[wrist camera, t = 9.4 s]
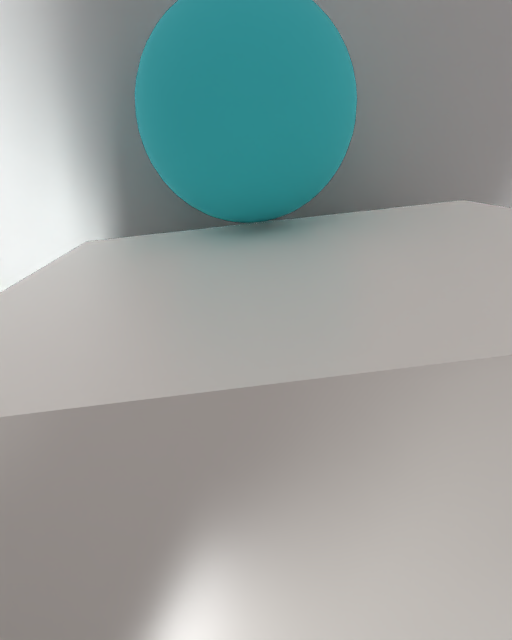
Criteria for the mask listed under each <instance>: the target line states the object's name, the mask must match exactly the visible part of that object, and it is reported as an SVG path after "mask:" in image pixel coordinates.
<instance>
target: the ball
mask: <svg viewBox="0 0 512 640" xmlns="http://www.w3.org/2000/svg"><path fill="white" fill-rule="evenodd" d="M356 107H357V90H356V81H355V76H354V71H353V66H352V62H351V59H350V56H349V53H348V50H347V47H346V45H345V43H344V41H343V39H342V37H341V35H340V33H339V32H338V30H337V28H336V27H335V25H334V24H333V23H332V21H331V20H330V18H329V17H328V16H327V15H326V14H325V13H324V11H323V10H322V9H321V8H320V7H319V6H318V5H317V4H316V3H315V2H314V1H312V0H178V1H177V2H176V3H174V4H173V5H172V6H171V7H170V8H169V9H168V10H167V11H166V12H165V14H164V15H163V16H162V18H161V19H160V20H159V22H158V23H157V24H156V26H155V28H154V29H153V31H152V33H151V35H150V37H149V39H148V40H147V42H146V45H145V48H144V50H143V53H142V56H141V59H140V63H139V68H138V72H137V77H136V85H135V109H136V119H137V124H138V129H139V133H140V136H141V139H142V142H143V145H144V148H145V151H146V153H147V155H148V157H149V159H150V161H151V163H152V165H153V166H154V168H155V169H156V171H157V172H158V174H159V175H160V177H161V178H162V180H163V181H164V182H165V183H166V184H167V185H168V187H169V188H170V189H171V190H172V191H173V192H174V193H175V194H176V195H177V196H179V197H180V198H181V199H182V200H184V201H185V202H186V203H188V204H189V205H190V206H192V207H194V208H196V209H198V210H199V211H201V212H203V213H205V214H207V215H210V216H212V217H215V218H219V219H223V220H227V221H232V222H241V223H253V222H262V221H268V220H272V219H275V218H278V217H281V216H284V215H286V214H289V213H291V212H293V211H295V210H297V209H298V208H300V207H302V206H303V205H305V204H306V203H307V202H309V201H310V200H311V199H313V198H314V197H315V196H316V195H317V194H318V193H319V192H320V191H321V190H322V189H323V188H324V187H325V186H326V185H327V184H328V183H329V181H330V180H331V178H332V177H333V176H334V174H335V173H336V171H337V170H338V168H339V166H340V165H341V163H342V161H343V159H344V157H345V155H346V152H347V149H348V146H349V144H350V141H351V138H352V135H353V130H354V125H355V120H356Z"/></svg>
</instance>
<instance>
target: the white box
mask: <svg viewBox="0 0 512 640" xmlns="http://www.w3.org/2000/svg"><path fill="white" fill-rule="evenodd" d="M0 640H512V208H508V207H502V206H496V205H490V204H485V203H479V202H473V201H467V200H459V201H450V202H440V203H431V204H422V205H413V206H404V207H395V208H386V209H377V210H368V211H359V212H349V213H340V214H331V215H322V216H313V217H304V218H295V219H286V220H277V221H268V222H259V223H249V224H240V225H231V226H222V227H213V228H204V229H195V230H186V231H177V232H168V233H158V234H149V235H140V236H131V237H122V238H113V239H104V240H95V241H86V242H84V243H83V244H81V245H79V246H78V247H76V248H74V249H73V250H71V251H69V252H68V253H66V254H64V255H62V256H61V257H59V258H57V259H56V260H54V261H52V262H51V263H49V264H47V265H46V266H44V267H42V268H41V269H39V270H37V271H36V272H34V273H32V274H31V275H29V276H27V277H26V278H24V279H22V280H21V281H19V282H17V283H15V284H14V285H12V286H10V287H9V288H7V289H5V290H4V291H2V292H0Z"/></svg>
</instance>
